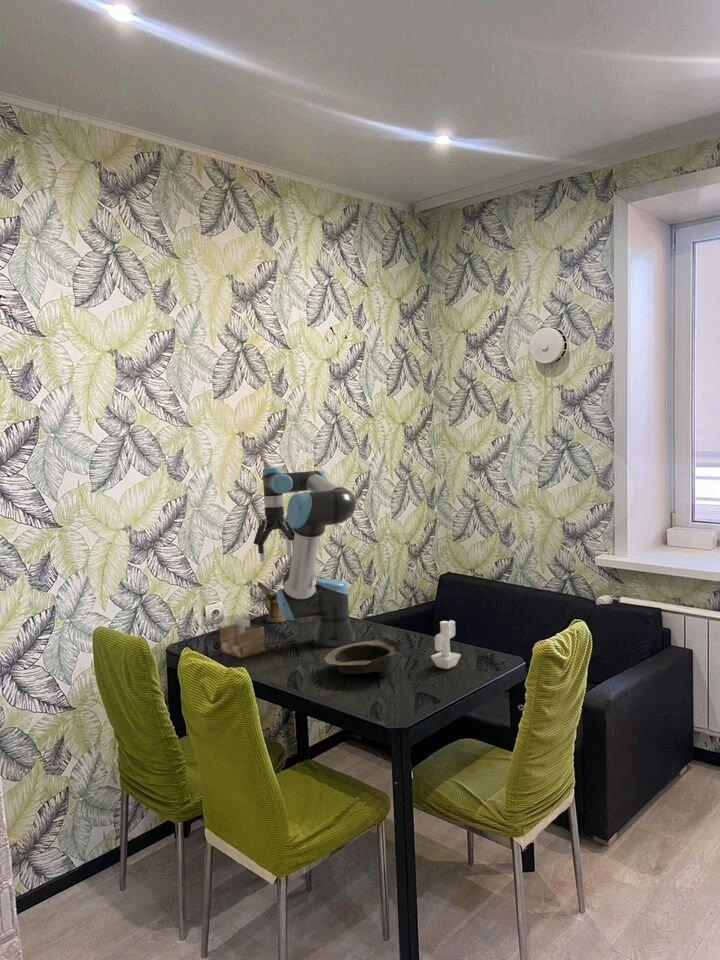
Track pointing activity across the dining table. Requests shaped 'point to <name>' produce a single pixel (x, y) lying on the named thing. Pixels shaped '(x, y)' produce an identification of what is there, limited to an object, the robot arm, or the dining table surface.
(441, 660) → the figurine
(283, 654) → the dining table surface
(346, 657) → the stone bowl
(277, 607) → the wooden mug
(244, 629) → the bracket
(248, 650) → the open wooden box
